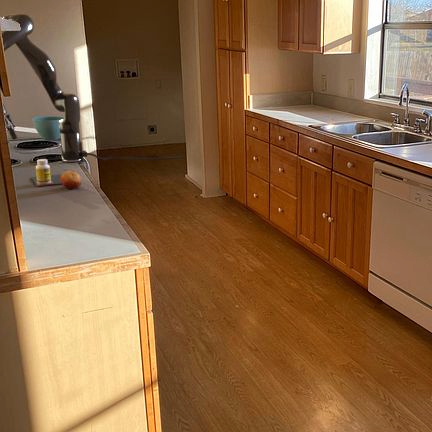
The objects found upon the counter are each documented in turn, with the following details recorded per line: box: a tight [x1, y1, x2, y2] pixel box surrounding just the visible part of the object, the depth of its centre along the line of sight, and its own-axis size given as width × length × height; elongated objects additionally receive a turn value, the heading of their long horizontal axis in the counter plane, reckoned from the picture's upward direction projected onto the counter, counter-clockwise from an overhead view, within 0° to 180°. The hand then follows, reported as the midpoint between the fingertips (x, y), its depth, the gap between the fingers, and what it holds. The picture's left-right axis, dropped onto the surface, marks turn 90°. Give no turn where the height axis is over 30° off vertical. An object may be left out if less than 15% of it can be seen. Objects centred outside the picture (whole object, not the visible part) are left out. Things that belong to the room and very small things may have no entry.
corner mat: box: [31, 174, 62, 188], centre depth 247 cm, size 16×16×1 cm
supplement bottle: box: [35, 158, 52, 184], centre depth 240 cm, size 5×5×10 cm
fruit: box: [61, 170, 82, 190], centre depth 236 cm, size 8×8×8 cm
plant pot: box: [32, 115, 65, 141], centre depth 336 cm, size 18×18×12 cm
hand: (11, 141), depth 240 cm, fingers open, 8 cm apart
